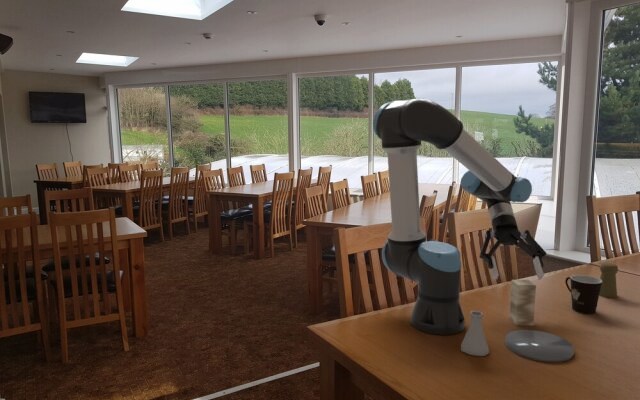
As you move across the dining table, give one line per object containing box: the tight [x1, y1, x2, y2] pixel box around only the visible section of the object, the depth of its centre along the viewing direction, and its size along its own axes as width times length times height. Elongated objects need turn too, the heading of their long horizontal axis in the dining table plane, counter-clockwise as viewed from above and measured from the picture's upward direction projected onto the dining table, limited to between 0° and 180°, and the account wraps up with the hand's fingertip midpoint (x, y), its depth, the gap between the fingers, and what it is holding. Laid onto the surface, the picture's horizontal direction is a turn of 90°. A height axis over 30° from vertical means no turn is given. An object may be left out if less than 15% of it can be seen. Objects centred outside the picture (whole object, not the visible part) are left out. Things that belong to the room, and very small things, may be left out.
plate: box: [504, 329, 575, 363], centre depth 120 cm, size 16×16×1 cm
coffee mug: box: [565, 274, 602, 315], centre depth 146 cm, size 12×9×10 cm
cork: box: [599, 262, 619, 299], centre depth 158 cm, size 6×6×11 cm
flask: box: [460, 310, 490, 357], centre depth 118 cm, size 7×7×10 cm
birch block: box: [509, 279, 537, 326], centre depth 135 cm, size 5×5×12 cm
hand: (518, 277), depth 141 cm, fingers open, 13 cm apart
